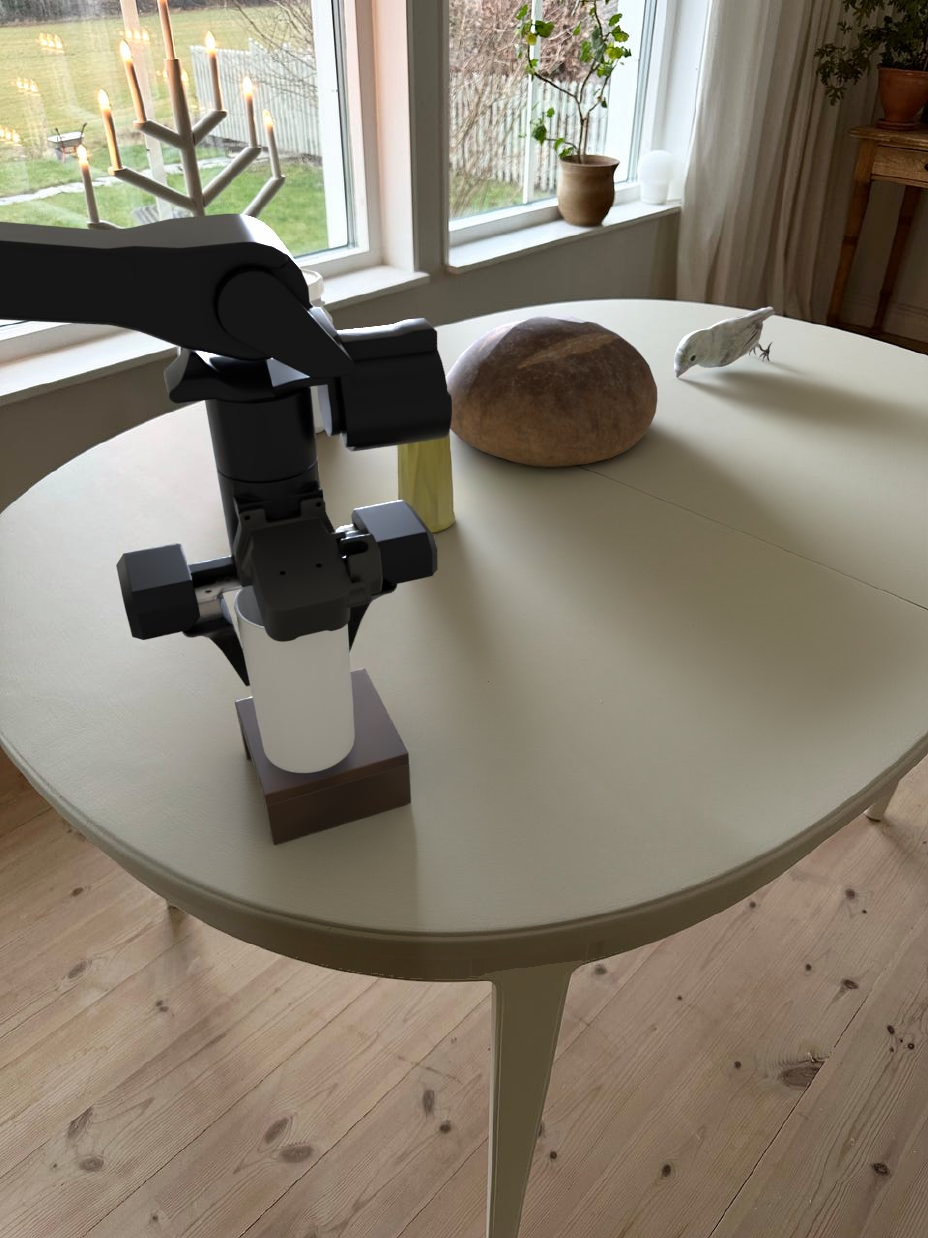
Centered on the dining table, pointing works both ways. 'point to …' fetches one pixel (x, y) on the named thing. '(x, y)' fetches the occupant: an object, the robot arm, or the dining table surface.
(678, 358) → the decorative bird
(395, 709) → the dining table surface
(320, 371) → the robot arm
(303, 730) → the mug
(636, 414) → the bread
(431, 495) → the vase
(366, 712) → the wooden box
